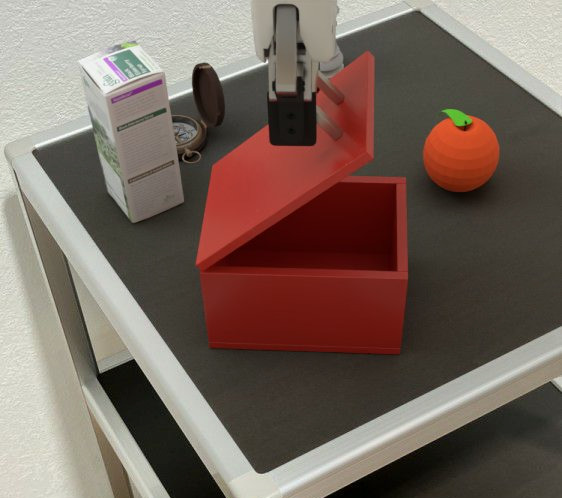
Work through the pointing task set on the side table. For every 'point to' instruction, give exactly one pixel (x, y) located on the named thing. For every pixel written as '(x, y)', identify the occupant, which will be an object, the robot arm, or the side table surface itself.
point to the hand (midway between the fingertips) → (295, 114)
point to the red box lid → (290, 163)
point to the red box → (318, 276)
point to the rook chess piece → (333, 61)
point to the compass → (200, 112)
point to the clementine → (460, 152)
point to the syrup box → (133, 129)
